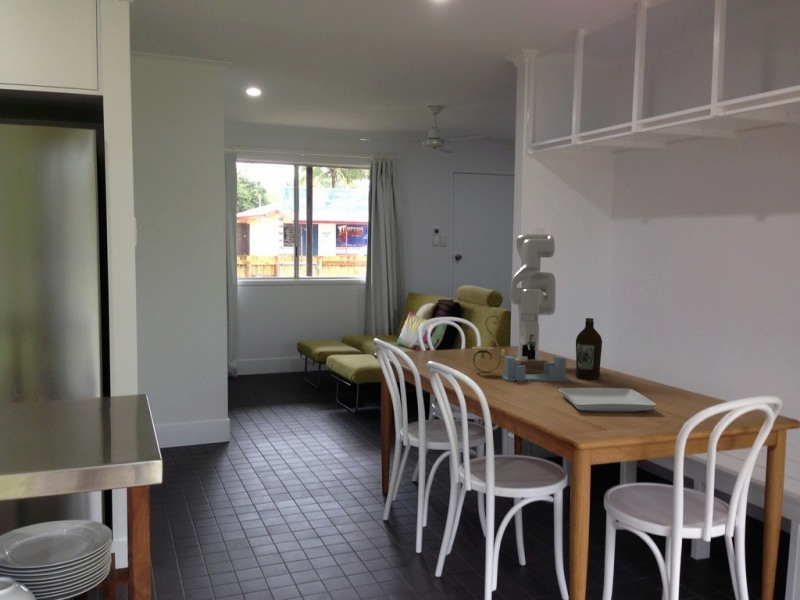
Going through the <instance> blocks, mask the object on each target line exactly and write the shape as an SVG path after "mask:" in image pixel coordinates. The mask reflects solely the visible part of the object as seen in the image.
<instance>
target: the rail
mask: <svg viewBox="0 0 800 600" xmlns="http://www.w3.org/2000/svg"><path fill="white" fill-rule="evenodd" d="M541 359H542V358H541ZM515 363H521V366H525V374H544V363H549V362H548V360H546V359H542V360H515Z"/></svg>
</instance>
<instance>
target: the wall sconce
mask: <svg viewBox="0 0 800 600" xmlns="http://www.w3.org/2000/svg"><path fill="white" fill-rule="evenodd" d="M490 318H495V319H496V321H495V320H493V321H492V323H493V324H494V325H497V324H498V323H500V318H499V317H498V316H497V315H494V314H490V315H488V316H487V317H486V319H485V320H484V326H485V329H486V331H487V332H488V334H489V335H490V337H491V338H492V339H493V341H494V342H495V345H496V348H497V351H498V355H497V356H496V357H497V359H498V362H497V364H496V365H495V366H494V367H493V368H491V369H488V370H486V369H485V370H484V369H481V368H479V367H478V366H477V365H476V357H477V355H478V354H481V355H480V359H481V360H482V359H484V362H486V363H489V362H491V361H492V360H493V355H492V353H491V352H489V351H493V350H494V349H495V347H491V346H482V345H481V346H472V347H471V349H472V350H473V351H476V352H475V353H474V354H473V356H472V365H473V367H474V368H475V369H476V371H478V372H480V373H484V372H488V373H492V372H494V371H496V370H497V369H498V368H499V366H500V364H501V365H503V366H504V356H506V351H505V348H502V349H501V348H500V344H499V342H498V340H497V338H496V336H494V334H493V332H492V331H491V329H490V328H489V327H488V321H489V319H490ZM484 354H487V355H489V358H488V359H485V357H486V356H485V355H484Z"/></svg>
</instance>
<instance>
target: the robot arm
mask: <svg viewBox="0 0 800 600" xmlns="http://www.w3.org/2000/svg"><path fill="white" fill-rule="evenodd" d="M515 242H516V250H517V253H518V256H519V259H520V262H521V263H520V265H521V266H520V268H519V269H518V270H517V271H516V272H515V273H514V275H513V277H512V278H511V280H510V281H511V282H510V285H509V286H510V287H509V288H510V290H509V299H510V303H512V304H513V305H516V306H517V312H518V313H517V314H518V345H517V346H518V347H517V349H518V351H517V356H516V357H514V358H515V360H542V358H541V357H539V351H540V350H539V345H540V323H539V317H540V316H552V315H554V314H555V311H556V276H555V274H553V273H552V272H548V271H547V272H546V271H545V272H544V271H541V259H542V258H553V256H554V255H555V249H556V245H555V243H556V242H555V238H554V235H552V234H549V233H548V234H547V233H546V234H544V233H541V234H539V233H531V234H530V233H527V234H525V233H524V234H520V235H519V236H517V238H516V241H515ZM519 283H520V284H521V285H520V286H521V287H517V286H518V284H519Z"/></svg>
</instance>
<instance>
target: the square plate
mask: <svg viewBox="0 0 800 600" xmlns="http://www.w3.org/2000/svg"><path fill="white" fill-rule="evenodd" d="M557 390H558V391H559V393H560V394H561V396H562V397H564V398H565V399H567V401H569V402H570V403H571V404H572V405H573V406H574V407H575V408H576V409H577V410H579V411H585V412H610V413H611V412H618V413H619V412H620V413H621V412H622V413H623V412H624V413H625V412H629V413H630V412H631V413H634V412H635V413H636V412H643V411H650V410H652V409H654V408H655V407H657V406H658V404H657V403H655V402H654V401H652V400H651V399H650V398H648V397H647V396H645V395H643V394H641V393H640V392H638V391H636V390H635V389H633V388H621V387H620V388H615V387H612V388H611V387H571V388H569V387H567V388H565V387H563V388H562V387H561V388H557Z"/></svg>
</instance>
